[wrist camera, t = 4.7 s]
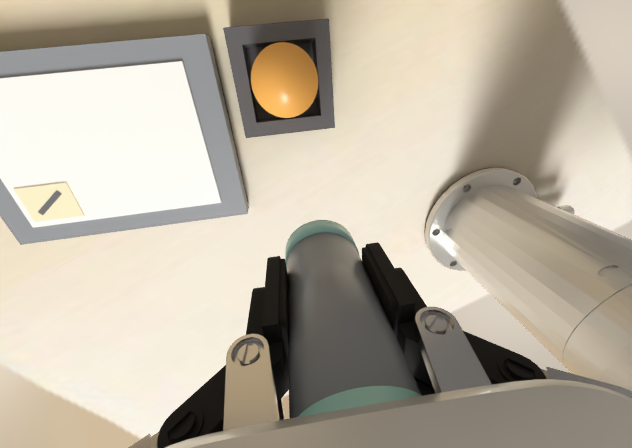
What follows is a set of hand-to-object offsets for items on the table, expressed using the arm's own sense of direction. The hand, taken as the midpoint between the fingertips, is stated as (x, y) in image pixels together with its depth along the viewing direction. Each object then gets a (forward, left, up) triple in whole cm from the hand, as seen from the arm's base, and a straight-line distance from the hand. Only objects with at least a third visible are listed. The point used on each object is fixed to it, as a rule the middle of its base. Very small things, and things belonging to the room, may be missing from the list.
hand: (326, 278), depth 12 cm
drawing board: (+15, -5, -15) cm, 22 cm away
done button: (0, -8, -13) cm, 15 cm away
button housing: (0, -8, -15) cm, 17 cm away
